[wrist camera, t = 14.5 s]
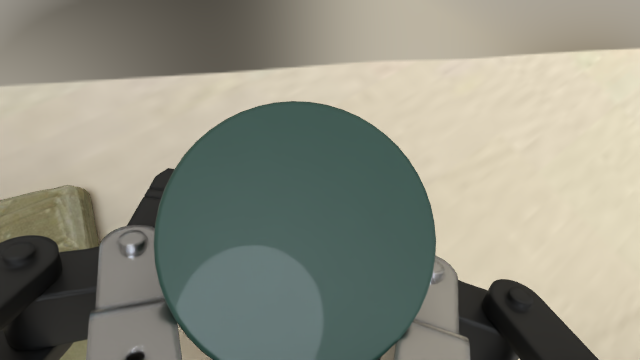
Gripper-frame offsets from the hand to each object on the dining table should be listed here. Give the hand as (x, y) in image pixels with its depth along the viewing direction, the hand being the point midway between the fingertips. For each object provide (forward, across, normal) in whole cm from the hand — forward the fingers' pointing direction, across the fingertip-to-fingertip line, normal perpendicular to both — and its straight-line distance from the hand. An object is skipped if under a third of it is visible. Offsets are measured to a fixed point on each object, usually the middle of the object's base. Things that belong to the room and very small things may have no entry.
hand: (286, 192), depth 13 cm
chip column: (+2, 0, +4) cm, 4 cm away
